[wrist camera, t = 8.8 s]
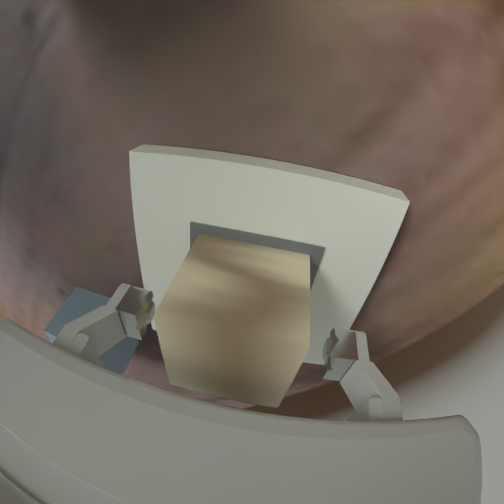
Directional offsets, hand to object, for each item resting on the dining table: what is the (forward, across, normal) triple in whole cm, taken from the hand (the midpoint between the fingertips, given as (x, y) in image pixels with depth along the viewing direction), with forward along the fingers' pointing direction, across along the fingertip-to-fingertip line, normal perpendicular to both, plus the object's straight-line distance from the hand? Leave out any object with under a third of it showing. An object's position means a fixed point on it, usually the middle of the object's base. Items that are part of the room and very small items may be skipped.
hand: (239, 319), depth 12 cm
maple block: (+2, 0, 0) cm, 2 cm away
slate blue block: (+4, +11, +8) cm, 14 cm away
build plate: (+4, 0, 0) cm, 4 cm away
